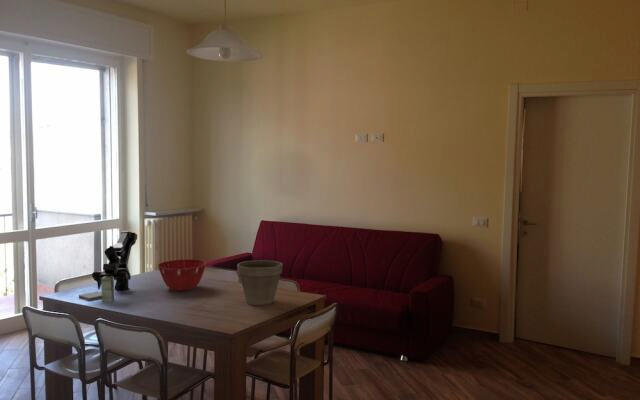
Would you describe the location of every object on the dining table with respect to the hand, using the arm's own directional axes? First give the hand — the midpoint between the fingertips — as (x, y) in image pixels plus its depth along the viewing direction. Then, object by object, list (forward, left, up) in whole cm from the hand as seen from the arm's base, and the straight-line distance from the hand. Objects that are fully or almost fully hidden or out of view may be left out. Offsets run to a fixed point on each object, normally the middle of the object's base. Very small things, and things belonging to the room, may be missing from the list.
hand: (106, 289), depth 305 cm
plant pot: (-52, +67, -7) cm, 85 cm away
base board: (+1, -13, -7) cm, 15 cm away
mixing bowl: (-45, +8, -7) cm, 46 cm away
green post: (-1, -1, -7) cm, 7 cm away
